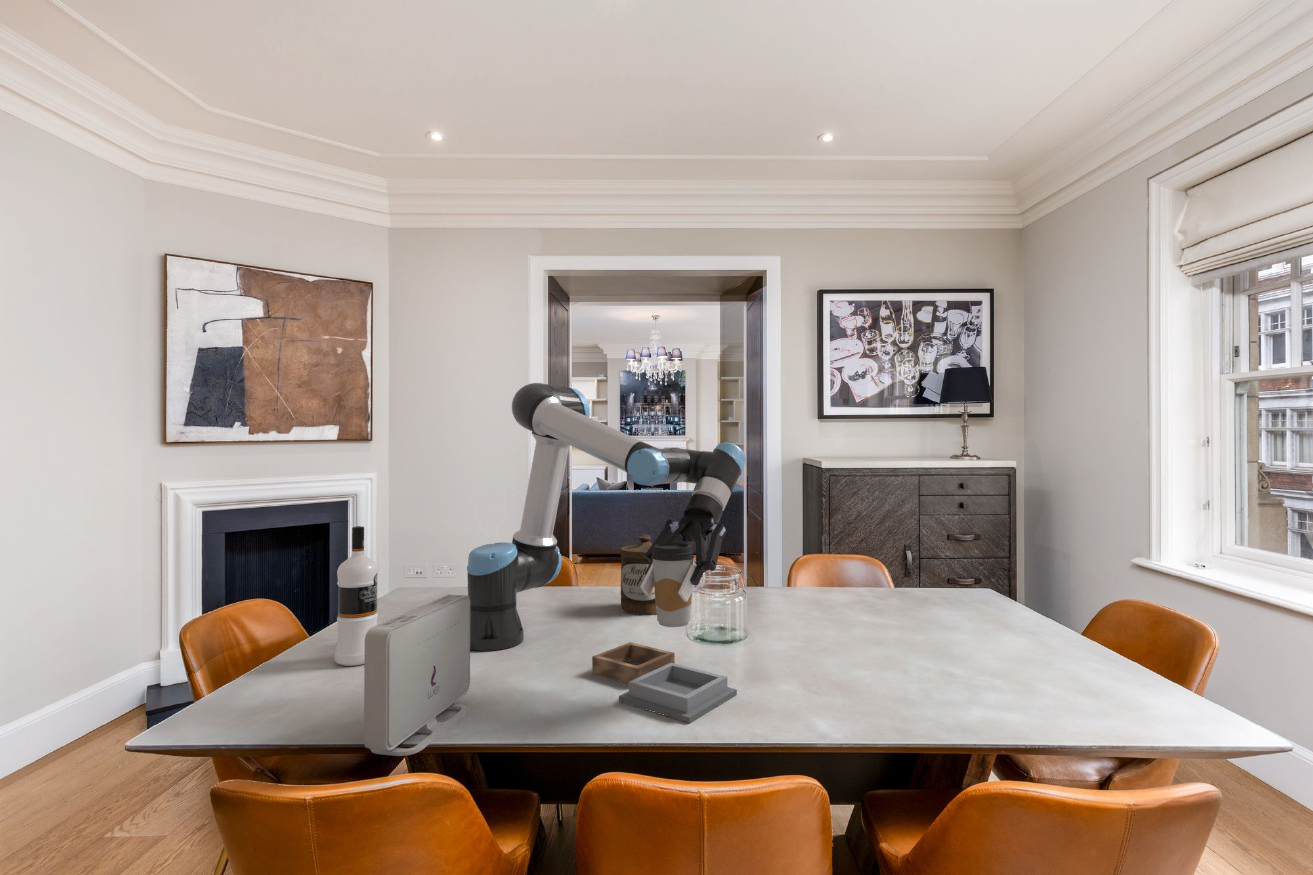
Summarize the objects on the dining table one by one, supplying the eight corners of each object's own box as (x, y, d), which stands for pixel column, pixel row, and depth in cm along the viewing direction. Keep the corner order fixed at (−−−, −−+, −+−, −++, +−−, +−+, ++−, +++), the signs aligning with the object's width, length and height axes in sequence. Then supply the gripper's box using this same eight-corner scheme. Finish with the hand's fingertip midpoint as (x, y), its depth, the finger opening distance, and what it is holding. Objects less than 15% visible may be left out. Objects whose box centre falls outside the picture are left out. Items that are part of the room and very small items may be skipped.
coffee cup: (699, 619, 126) (698, 543, 126) (688, 630, 118) (687, 549, 118) (660, 616, 128) (659, 542, 129) (646, 627, 121) (645, 548, 121)
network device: (399, 768, 94) (400, 632, 94) (347, 762, 96) (348, 629, 96) (481, 701, 119) (481, 594, 119) (438, 697, 121) (439, 592, 121)
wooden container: (615, 614, 181) (615, 537, 182) (626, 602, 196) (626, 530, 196) (666, 616, 179) (666, 538, 179) (674, 603, 194) (673, 531, 194)
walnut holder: (592, 673, 133) (592, 656, 133) (630, 657, 143) (630, 642, 143) (637, 686, 126) (637, 668, 126) (674, 669, 136) (674, 652, 136)
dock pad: (619, 701, 119) (618, 682, 119) (669, 676, 131) (669, 659, 131) (689, 723, 109) (689, 702, 109) (736, 694, 122) (736, 676, 122)
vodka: (345, 653, 147) (346, 524, 147) (386, 653, 147) (387, 523, 148) (326, 667, 137) (327, 529, 138) (369, 667, 138) (370, 528, 138)
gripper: (757, 517, 130) (718, 613, 116) (673, 513, 142) (629, 598, 129) (744, 493, 125) (702, 589, 112) (659, 490, 138) (611, 576, 125)
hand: (663, 594), depth 121 cm, fingers closed on coffee cup, 8 cm apart
